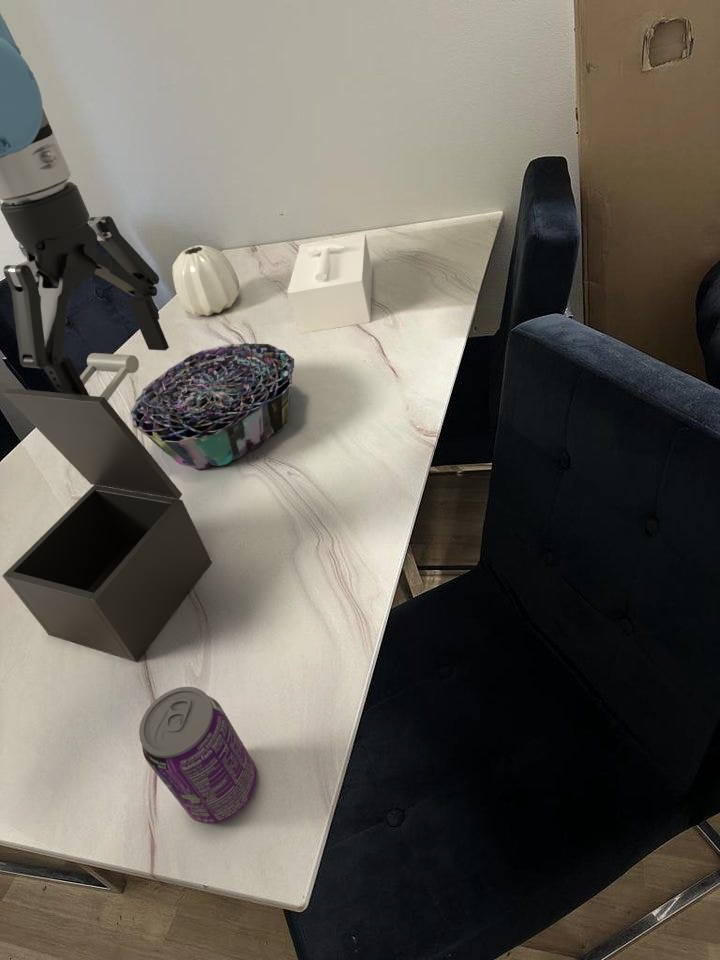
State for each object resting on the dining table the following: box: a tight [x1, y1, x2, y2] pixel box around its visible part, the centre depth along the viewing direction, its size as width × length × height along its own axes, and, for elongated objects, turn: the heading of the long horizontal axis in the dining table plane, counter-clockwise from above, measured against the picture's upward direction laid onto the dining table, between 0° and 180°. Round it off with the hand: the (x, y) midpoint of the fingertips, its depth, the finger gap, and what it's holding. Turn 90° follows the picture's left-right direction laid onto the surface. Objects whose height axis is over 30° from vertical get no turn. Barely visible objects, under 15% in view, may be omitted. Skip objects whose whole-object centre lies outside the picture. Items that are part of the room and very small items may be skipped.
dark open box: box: [1, 485, 213, 663], centre depth 80 cm, size 16×14×11 cm
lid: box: [2, 352, 183, 500], centre depth 78 cm, size 17×14×10 cm
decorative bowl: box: [130, 342, 295, 471], centre depth 107 cm, size 26×28×10 cm
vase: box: [171, 244, 240, 317], centre depth 145 cm, size 14×14×13 cm
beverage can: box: [138, 686, 258, 825], centre depth 58 cm, size 7×7×12 cm
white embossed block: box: [286, 232, 373, 335], centre depth 136 cm, size 14×25×11 cm, turn 178°
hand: (124, 378), depth 78 cm, fingers open, 13 cm apart
